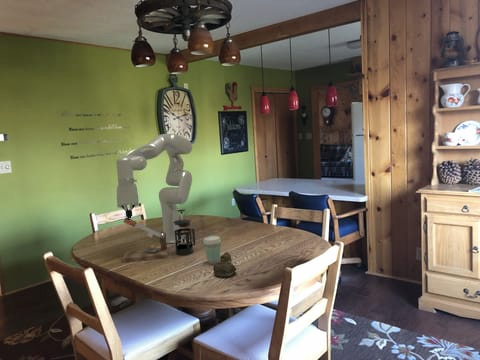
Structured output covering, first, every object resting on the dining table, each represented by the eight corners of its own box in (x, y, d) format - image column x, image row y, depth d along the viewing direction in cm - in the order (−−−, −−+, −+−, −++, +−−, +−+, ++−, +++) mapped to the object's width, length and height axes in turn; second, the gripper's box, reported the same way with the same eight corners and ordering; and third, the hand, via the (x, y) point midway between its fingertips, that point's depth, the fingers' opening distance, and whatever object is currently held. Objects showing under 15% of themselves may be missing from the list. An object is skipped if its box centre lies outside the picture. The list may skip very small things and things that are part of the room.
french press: (179, 257, 191) (176, 212, 188) (171, 253, 198) (167, 210, 195) (199, 251, 198) (196, 208, 195) (190, 248, 205) (187, 206, 202)
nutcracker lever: (162, 240, 197) (165, 233, 197) (162, 242, 194) (165, 235, 194) (122, 223, 192) (126, 216, 192) (121, 225, 190) (125, 217, 189)
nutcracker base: (168, 250, 203) (166, 230, 201) (167, 257, 191) (166, 236, 189) (126, 255, 199) (124, 235, 198) (122, 262, 187) (120, 241, 186)
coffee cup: (213, 258, 186) (211, 234, 185) (226, 261, 181) (224, 236, 180) (201, 263, 180) (199, 239, 178) (214, 266, 175) (212, 241, 173)
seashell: (245, 258, 165) (229, 253, 172) (227, 250, 157) (212, 245, 165) (235, 283, 162) (220, 277, 169) (217, 276, 155) (202, 270, 162)
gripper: (142, 180, 194) (145, 215, 196) (111, 182, 191) (115, 217, 194) (140, 181, 186) (143, 218, 189) (109, 184, 184) (112, 220, 186)
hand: (129, 217), depth 191 cm, fingers closed
